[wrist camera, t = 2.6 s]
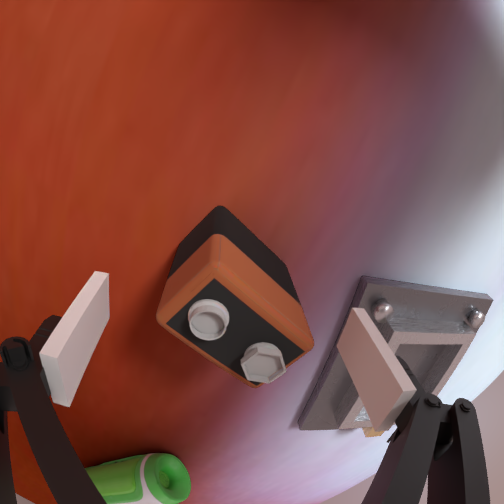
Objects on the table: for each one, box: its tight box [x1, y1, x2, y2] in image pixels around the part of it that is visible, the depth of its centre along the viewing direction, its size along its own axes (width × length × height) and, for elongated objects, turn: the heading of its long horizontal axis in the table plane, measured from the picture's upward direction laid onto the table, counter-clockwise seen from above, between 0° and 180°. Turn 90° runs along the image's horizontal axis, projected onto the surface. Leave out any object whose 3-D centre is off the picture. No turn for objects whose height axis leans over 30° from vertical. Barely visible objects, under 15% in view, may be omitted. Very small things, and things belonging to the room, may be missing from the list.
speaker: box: [85, 453, 191, 504], centre depth 30 cm, size 18×7×8 cm, turn 122°
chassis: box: [298, 276, 493, 437], centre depth 27 cm, size 18×16×3 cm
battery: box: [156, 206, 314, 388], centre depth 18 cm, size 4×7×10 cm, turn 44°
